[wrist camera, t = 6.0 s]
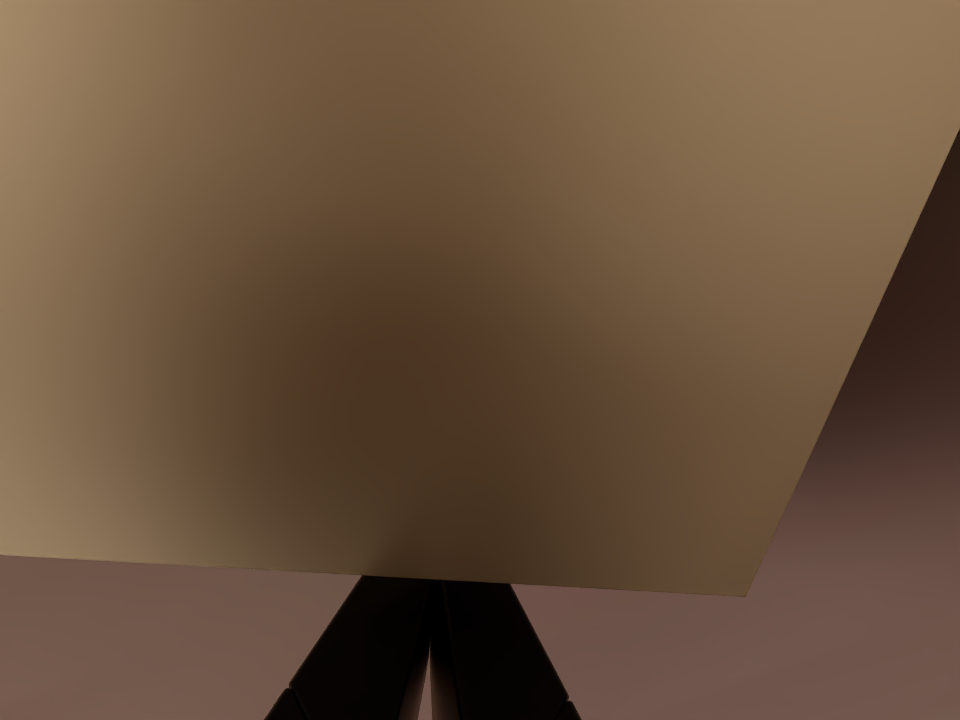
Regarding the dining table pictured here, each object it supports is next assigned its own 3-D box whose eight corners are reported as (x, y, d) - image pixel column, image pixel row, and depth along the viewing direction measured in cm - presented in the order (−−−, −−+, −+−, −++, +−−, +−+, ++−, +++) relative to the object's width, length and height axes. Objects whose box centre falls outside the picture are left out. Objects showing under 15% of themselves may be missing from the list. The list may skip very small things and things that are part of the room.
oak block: (827, -141, 7) (1131, -247, 4) (663, 413, 10) (745, 596, 7) (22, -239, 6) (-421, -458, 3) (148, 376, 10) (1, 554, 7)
